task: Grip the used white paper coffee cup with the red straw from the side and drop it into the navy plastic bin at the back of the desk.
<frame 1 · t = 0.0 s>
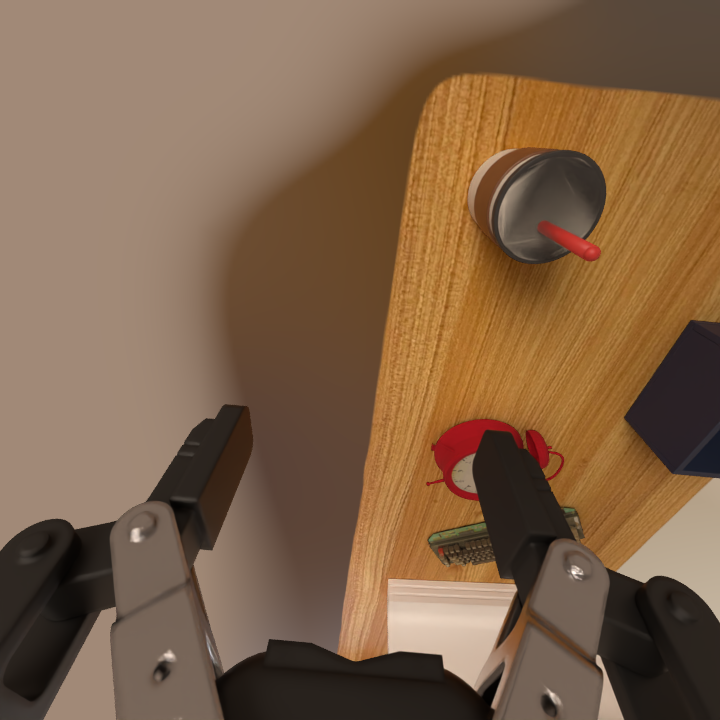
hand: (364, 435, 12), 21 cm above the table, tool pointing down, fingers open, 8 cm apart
paper cup: (505, 192, 26), on the table
bin: (713, 379, 35), on the table
alarm clock: (490, 448, 42), on the table
keyboard: (501, 533, 52), on the table
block: (483, 592, 62), on the table
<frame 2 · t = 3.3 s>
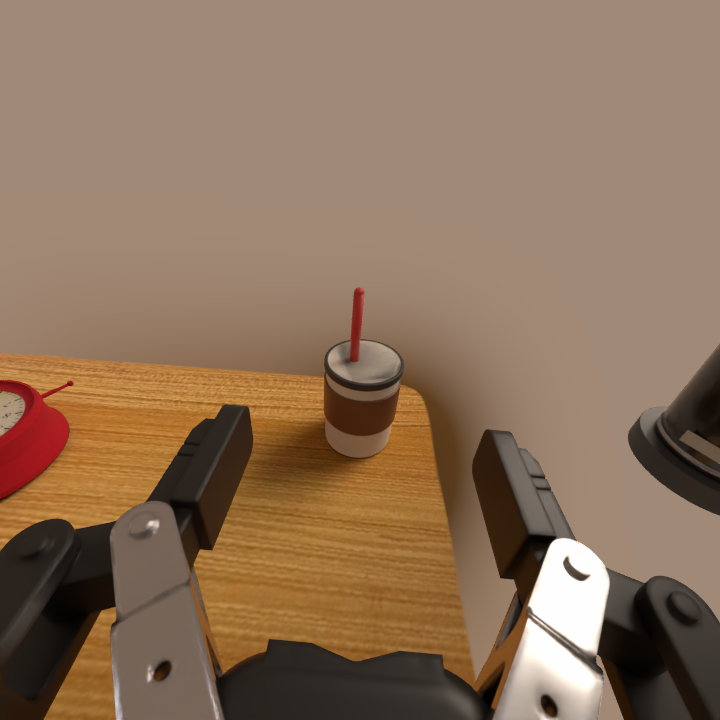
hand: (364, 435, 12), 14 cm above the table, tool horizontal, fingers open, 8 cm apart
paper cup: (357, 432, 31), on the table
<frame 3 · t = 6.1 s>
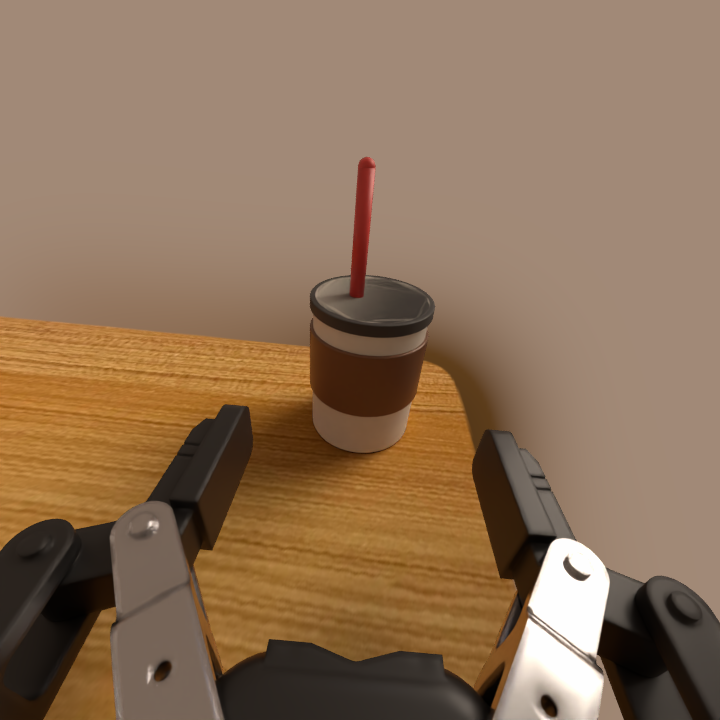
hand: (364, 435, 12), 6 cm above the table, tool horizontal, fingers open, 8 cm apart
paper cup: (359, 417, 21), on the table
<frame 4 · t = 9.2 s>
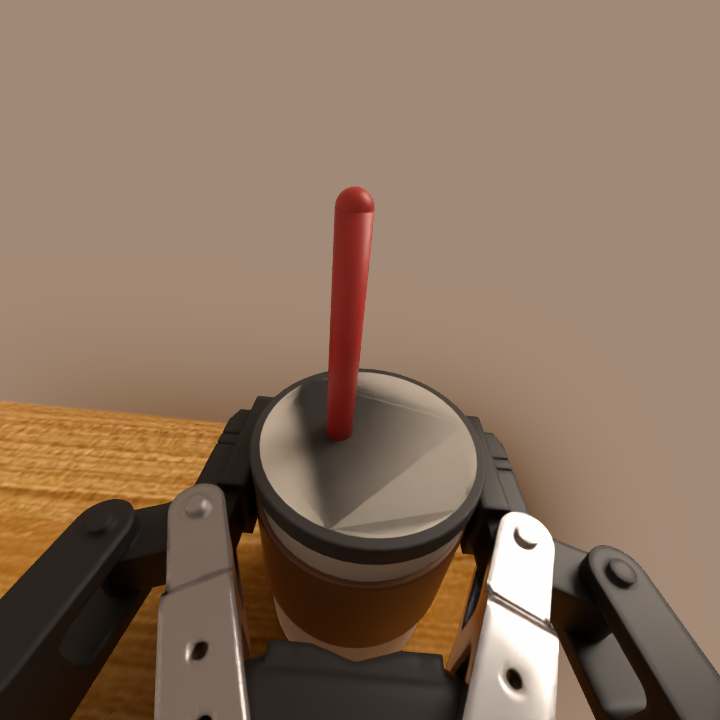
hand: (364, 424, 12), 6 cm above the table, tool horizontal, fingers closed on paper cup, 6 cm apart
paper cup: (349, 577, 13), on the table, touching gripper
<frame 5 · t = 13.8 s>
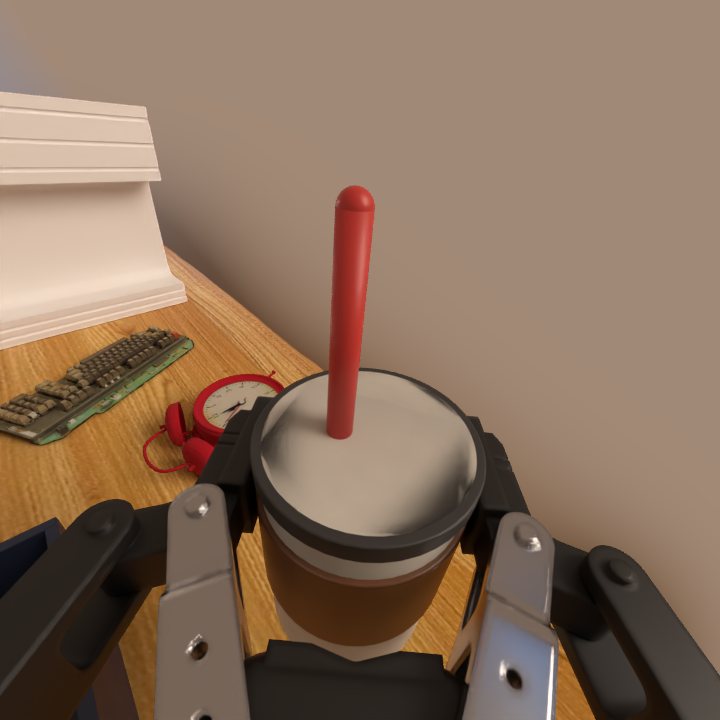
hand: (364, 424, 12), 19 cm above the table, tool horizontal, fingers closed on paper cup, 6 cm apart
paper cup: (349, 576, 14), point 13 cm above the table, touching gripper
alarm clock: (231, 438, 36), on the table
keyboard: (112, 378, 42), on the table
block: (60, 323, 52), on the table
when the fingers open (13 cm above the table, at t = 18.8 s): paper cup drops 6 cm, resting on bin.
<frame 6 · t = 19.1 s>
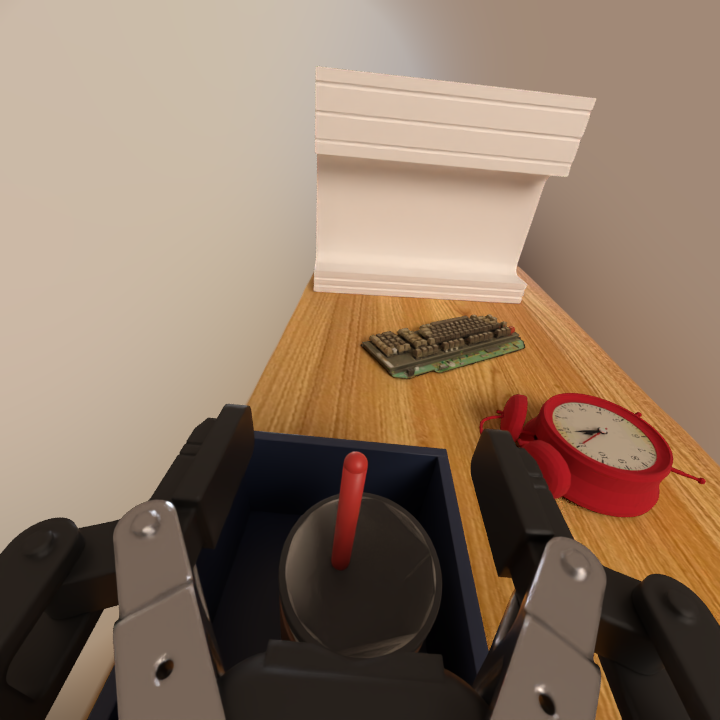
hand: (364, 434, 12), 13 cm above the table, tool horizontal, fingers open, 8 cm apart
paper cup: (343, 641, 17), point 1 cm above the table, touching bin
bin: (321, 620, 18), on the table
alarm clock: (561, 463, 30), on the table
keyboard: (447, 347, 44), on the table
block: (415, 289, 60), on the table
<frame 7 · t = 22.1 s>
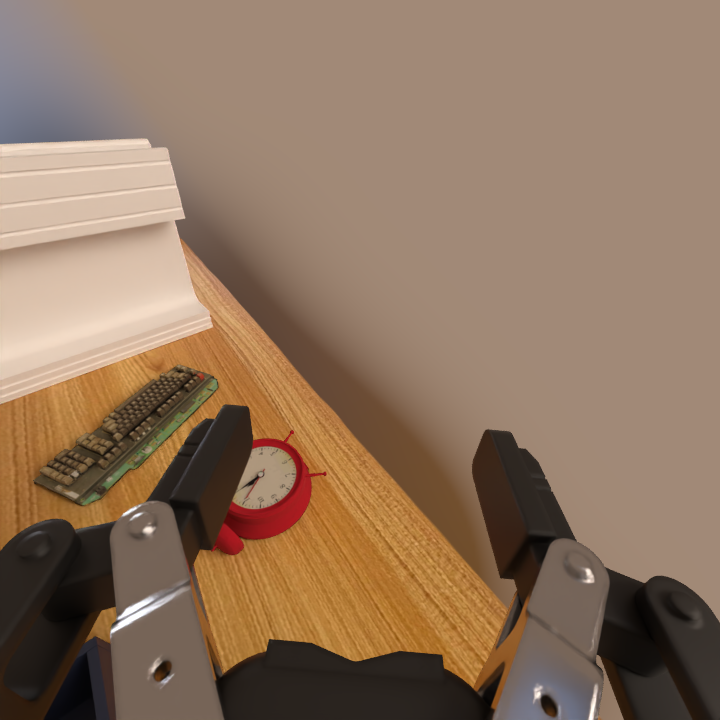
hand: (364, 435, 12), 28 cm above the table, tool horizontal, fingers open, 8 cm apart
alarm clock: (251, 502, 38), on the table
keyboard: (143, 425, 45), on the table
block: (96, 355, 55), on the table
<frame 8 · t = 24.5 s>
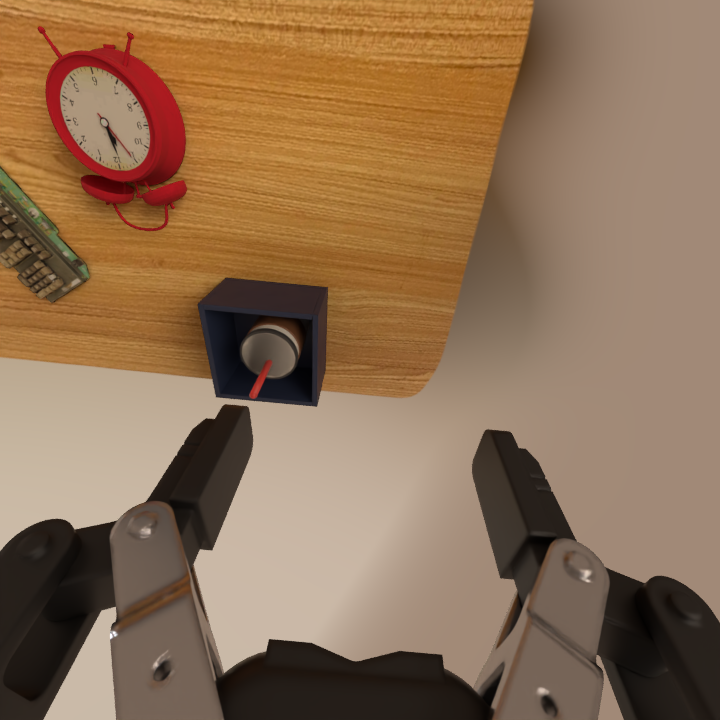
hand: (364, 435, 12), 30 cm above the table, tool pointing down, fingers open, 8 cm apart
paper cup: (286, 321, 43), point 1 cm above the table, touching bin
bin: (279, 327, 44), on the table
alarm clock: (138, 144, 34), on the table
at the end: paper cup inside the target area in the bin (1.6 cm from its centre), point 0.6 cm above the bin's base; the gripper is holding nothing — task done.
